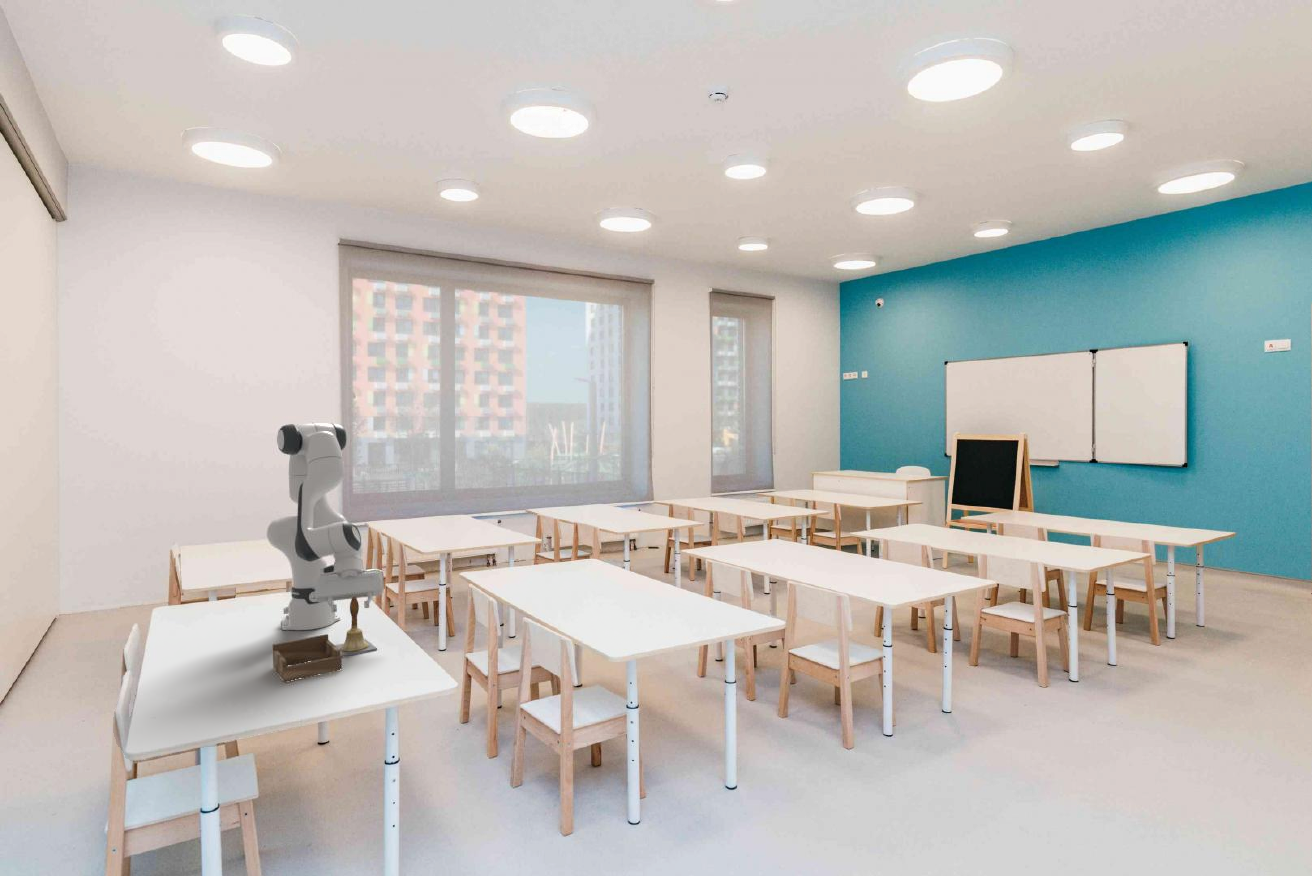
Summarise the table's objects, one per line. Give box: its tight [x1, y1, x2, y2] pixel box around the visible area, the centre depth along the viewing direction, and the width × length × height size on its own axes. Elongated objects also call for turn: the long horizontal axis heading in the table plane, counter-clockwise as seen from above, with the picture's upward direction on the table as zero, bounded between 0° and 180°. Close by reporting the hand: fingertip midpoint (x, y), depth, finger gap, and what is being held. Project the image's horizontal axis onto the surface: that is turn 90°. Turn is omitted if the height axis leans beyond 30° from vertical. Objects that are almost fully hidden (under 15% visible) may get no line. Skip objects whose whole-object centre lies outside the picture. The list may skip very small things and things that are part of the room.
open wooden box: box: [272, 633, 342, 683], centre depth 207 cm, size 15×15×7 cm
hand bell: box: [340, 597, 369, 652], centre depth 223 cm, size 8×8×16 cm
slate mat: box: [334, 638, 378, 658], centre depth 224 cm, size 12×12×1 cm
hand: (350, 609), depth 223 cm, fingers open, 8 cm apart
